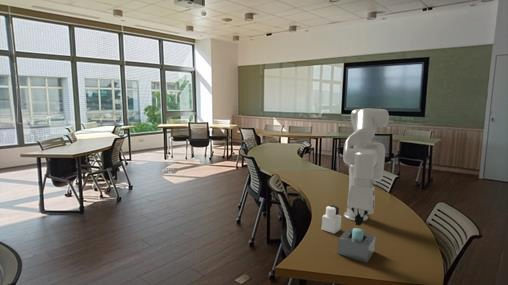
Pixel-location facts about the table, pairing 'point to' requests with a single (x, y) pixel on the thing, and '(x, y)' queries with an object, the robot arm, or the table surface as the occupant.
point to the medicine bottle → (331, 219)
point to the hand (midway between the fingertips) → (358, 224)
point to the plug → (357, 234)
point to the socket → (356, 246)
